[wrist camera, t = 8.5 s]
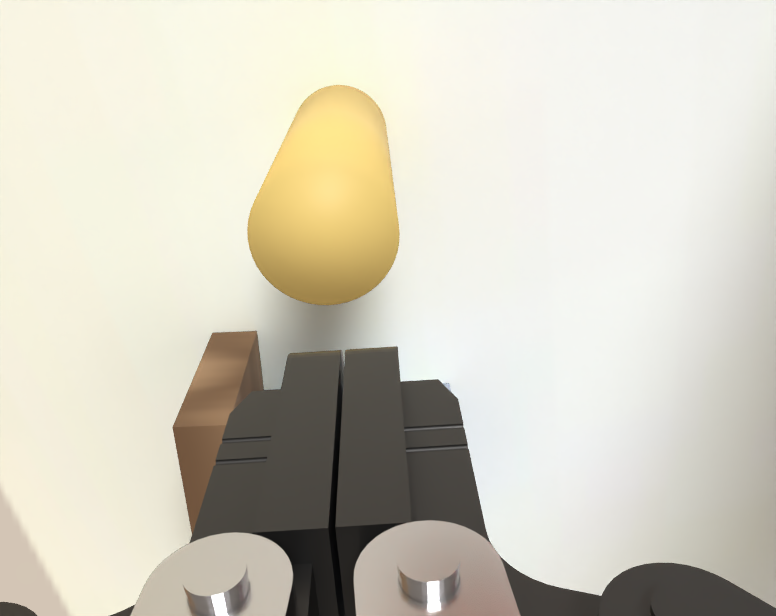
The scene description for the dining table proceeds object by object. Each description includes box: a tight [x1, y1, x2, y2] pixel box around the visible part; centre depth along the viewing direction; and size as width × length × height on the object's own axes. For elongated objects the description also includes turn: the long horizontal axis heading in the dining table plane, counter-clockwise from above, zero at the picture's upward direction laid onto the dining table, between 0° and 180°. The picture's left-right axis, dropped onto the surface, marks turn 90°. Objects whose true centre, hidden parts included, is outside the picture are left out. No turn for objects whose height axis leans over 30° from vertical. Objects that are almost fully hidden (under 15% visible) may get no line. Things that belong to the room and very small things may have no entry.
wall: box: [173, 331, 264, 534], centre depth 26 cm, size 2×12×6 cm, turn 2°
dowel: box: [247, 85, 399, 305], centre depth 19 cm, size 3×3×10 cm
